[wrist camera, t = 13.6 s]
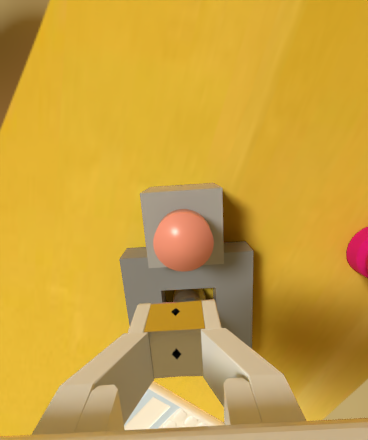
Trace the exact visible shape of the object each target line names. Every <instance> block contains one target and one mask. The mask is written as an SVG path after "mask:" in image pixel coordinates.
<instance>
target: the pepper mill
mask: <svg viewBox="0 0 368 440" xmlns="http://www.w3.org/2000/svg"><path fill="white" fill-rule="evenodd" d="M346 253H347V261H348V263H349V265H350V266H351V267H352V268H353V269H354V270H355V271H357V272H358V273H360V274H362V275H363V276H365V277H367V278H368V227H366V228H364V229H362V230H361V231H359V232H358V233H356V234H355V236H354V237H353V238H352V239H351V241H350V243H349V244H348V248H347V251H346Z"/></svg>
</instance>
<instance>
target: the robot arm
mask: <svg viewBox="0 0 368 440" xmlns="http://www.w3.org/2000/svg"><path fill="white" fill-rule="evenodd" d="M177 376H203V377H204V379H205V380H206V382H207V383H208V385H209V386H210V388H211V389H212V391H213V392H214V393H215V395H216V396H217V398H218V399H219V401H220V402H221V404H222V405H223V407H224V422H225V425H218V426H198V427H178V428H158V429H139V430H125V429H124V424H125V423H126V421H127V420H128V418H129V417H130V415H131V414H132V412H133V411H134V409H135V408H136V406H137V405H138V403H139V402H140V400H141V399H142V397H143V396H144V394H145V393H146V391H147V390H148V388H149V387H150V385H151V384H152V382H153V381H154V378H165V377H177ZM0 440H368V418H358V419H338V420H318V421H306V419H305V417H304V415H303V413H302V411H301V409H300V407H299V405H298V403H297V401H296V399H295V397H294V395H293V393H292V391H291V389H290V387H289V384H288V382H287V380H286V378H285V376H284V374H282V373H281V372H280V371H279V370H277V369H276V368H275V367H274V366H272V365H271V364H270V363H269V362H267V361H266V360H265V359H264V358H262V357H261V356H260V355H259V354H258V353H256V352H255V351H254V350H253V349H251V348H250V347H249V346H248V345H246V344H245V343H244V342H243V341H241V340H240V339H239V338H238V337H236V336H235V335H234V334H233V333H231V332H230V331H229V330H228V329H226V328H222V327H221V323H220V319H219V315H218V311H217V307H216V303H215V300H214V299H209V300H201V301H188V302H163V303H141V304H138V305H137V308H136V311H135V313H134V316H133V319H132V322H131V325H130V328H129V331H128V333H127V334H123V335H121V336H120V337H119V338H118V339H117V340H115V341H114V342H113V343H112V344H110V345H109V346H108V347H107V348H106V349H104V350H103V351H102V352H101V353H99V354H98V355H97V356H96V357H95V358H93V359H92V360H91V361H90V362H88V363H87V364H86V365H85V366H84V367H82V368H81V369H80V370H79V371H77V372H76V373H75V374H74V375H73V376H71V377H70V378H69V379H68V380H67V381H65V382H64V383H63V384H62V385H60V387H59V388H58V390H57V392H56V394H55V395H54V397H53V399H52V400H51V402H50V404H49V406H48V407H47V409H46V411H45V413H44V414H43V416H42V418H41V419H40V421H39V423H38V425H37V426H36V428H35V430H34V431H33V433H32V435H20V436H0Z"/></svg>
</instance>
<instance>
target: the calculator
mask: <svg viewBox="0 0 368 440" xmlns="http://www.w3.org/2000/svg"><path fill="white" fill-rule="evenodd" d="M218 425H225V423H224V422H222V421H220V420H219V419H217V418H215V417H214V416H212V415H210V414H208V413H207V412H205V411H203V410H202V409H200V408H198V407H197V406H195V405H193V404H192V403H190V402H188V401H186V400H185V399H183V398H181V397H180V396H178V395H176V394H175V393H173V392H171V391H169V390H168V389H166V388H164V387H163V386H161V385H159V384H158V383H156V382H154V381H153V382H152V384H151V385H150V387H149V388H148V390H147V391H146V393H145V394H144V396H143V397H142V399H141V400H140V402H139V403H138V405H137V406H136V408H135V409H134V411H133V412H132V414H131V415H130V417H129V418H128V420H127V421H126V423H125V424H124V429H125V430H139V429H158V428H178V427H198V426H218Z"/></svg>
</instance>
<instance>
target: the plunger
mask: <svg viewBox="0 0 368 440" xmlns="http://www.w3.org/2000/svg"><path fill="white" fill-rule="evenodd" d="M213 246H214V240H213V235H212V232H211V230H210V227H209V225H208V223H207V221H206V220H205V218H204V217H203V216H202V215H200V214H199V213H197V212H195V211H193V210H189V209H178V210H174V211H172V212H170V213H168V214H167V215H166V216H165V217H164V218H163V219H162V220H161V222H160V223H159V225H158V228H157V230H156V232H155V235H154V239H153V247H154V251H155V254H156V256H157V257H158V259H159V260H160V261H161V263H163V264H164V265H165V266H166V267H168V268H170V269H172V270H176V271H191V270H195V269H197V268H199V267H201V266H202V265H203V264H204V263H206V261H207V260H208V259H209V258H210V256H211V254H212V251H213Z"/></svg>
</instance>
